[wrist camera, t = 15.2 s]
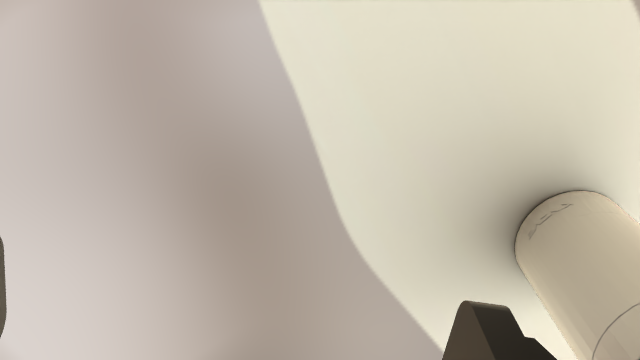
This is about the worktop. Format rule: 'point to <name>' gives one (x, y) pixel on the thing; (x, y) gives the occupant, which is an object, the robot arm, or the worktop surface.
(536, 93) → the worktop surface
